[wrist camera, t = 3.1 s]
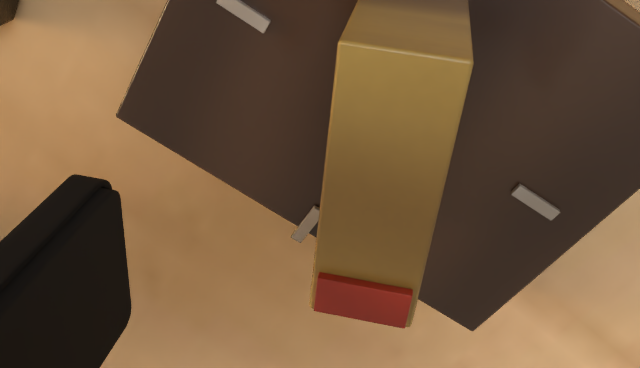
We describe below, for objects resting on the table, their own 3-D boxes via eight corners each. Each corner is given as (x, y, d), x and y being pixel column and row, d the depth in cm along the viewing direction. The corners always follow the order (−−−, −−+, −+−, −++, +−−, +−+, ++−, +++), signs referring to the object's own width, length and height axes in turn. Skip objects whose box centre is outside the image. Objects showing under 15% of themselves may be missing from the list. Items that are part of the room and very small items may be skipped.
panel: (151, 86, 21) (107, 128, 18) (311, -249, 15) (281, -260, 12) (464, 279, 22) (465, 342, 20) (711, 46, 17) (760, 92, 14)
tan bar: (366, -22, 15) (335, 44, 11) (468, -7, 14) (475, 65, 10) (338, 203, 18) (306, 316, 14) (419, 218, 18) (410, 336, 14)
